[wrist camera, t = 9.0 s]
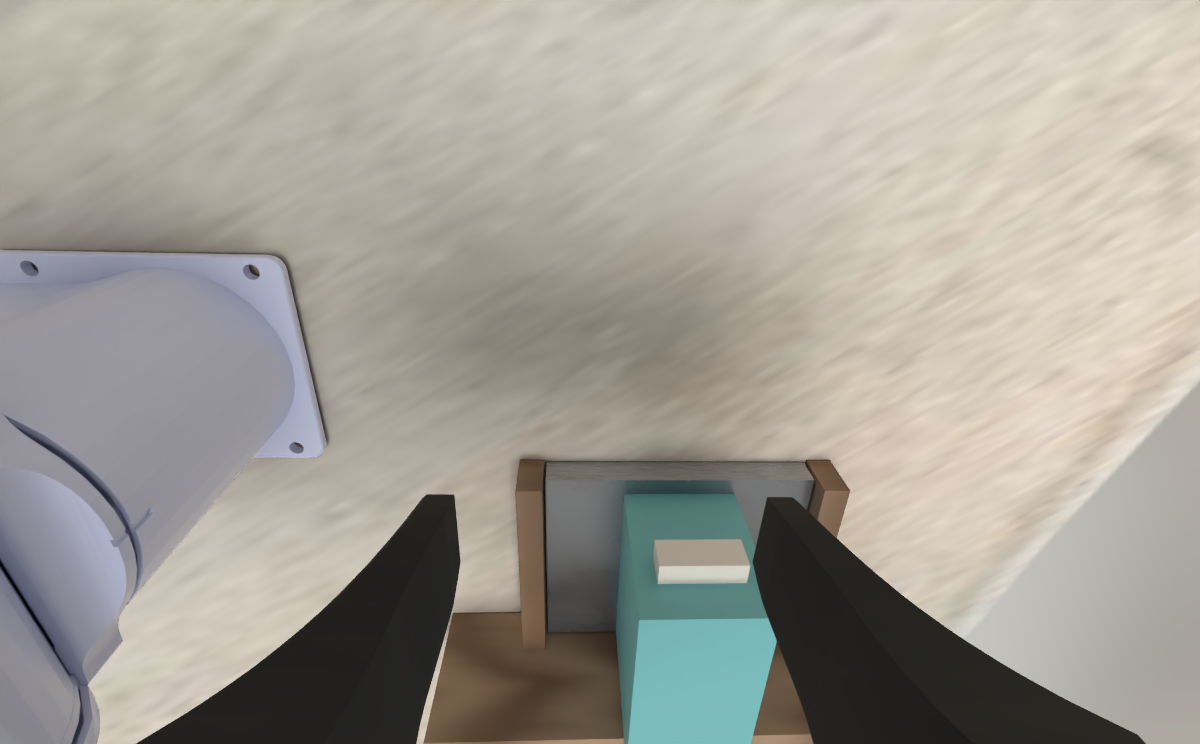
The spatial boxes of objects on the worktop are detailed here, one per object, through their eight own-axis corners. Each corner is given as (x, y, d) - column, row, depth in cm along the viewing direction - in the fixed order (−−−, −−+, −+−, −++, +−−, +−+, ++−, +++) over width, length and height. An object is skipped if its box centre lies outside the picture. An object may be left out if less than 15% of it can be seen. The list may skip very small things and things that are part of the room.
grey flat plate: (549, 611, 27) (548, 632, 26) (546, 462, 23) (545, 480, 22) (769, 608, 28) (776, 629, 27) (803, 462, 24) (814, 479, 23)
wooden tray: (455, 634, 28) (427, 765, 23) (433, 460, 23) (391, 573, 18) (853, 629, 29) (916, 753, 24) (910, 460, 24) (1005, 568, 19)
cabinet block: (615, 630, 26) (626, 768, 21) (625, 478, 22) (640, 601, 17) (711, 628, 27) (745, 765, 21) (737, 478, 23) (787, 600, 17)
